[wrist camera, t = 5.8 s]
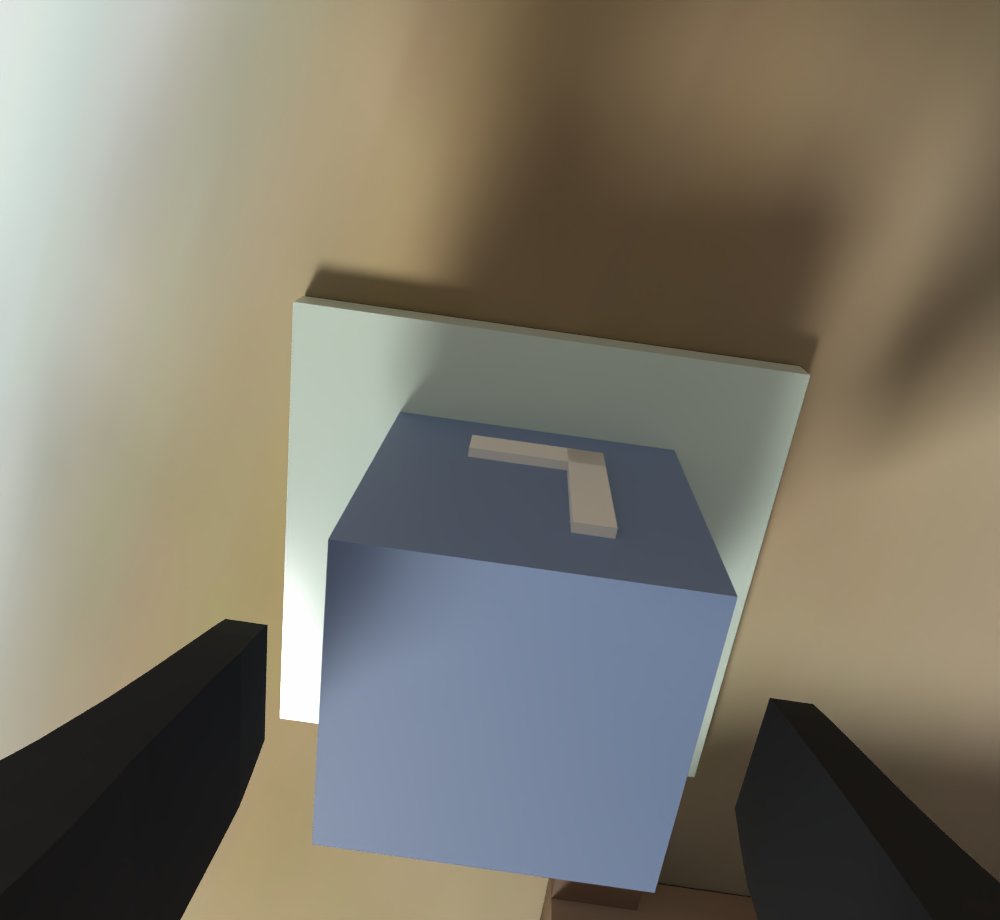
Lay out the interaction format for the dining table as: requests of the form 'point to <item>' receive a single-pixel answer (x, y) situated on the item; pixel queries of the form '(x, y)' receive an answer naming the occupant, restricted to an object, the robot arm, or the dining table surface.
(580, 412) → the tile
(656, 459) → the cube
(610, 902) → the brown wooden bar
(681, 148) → the dining table surface
